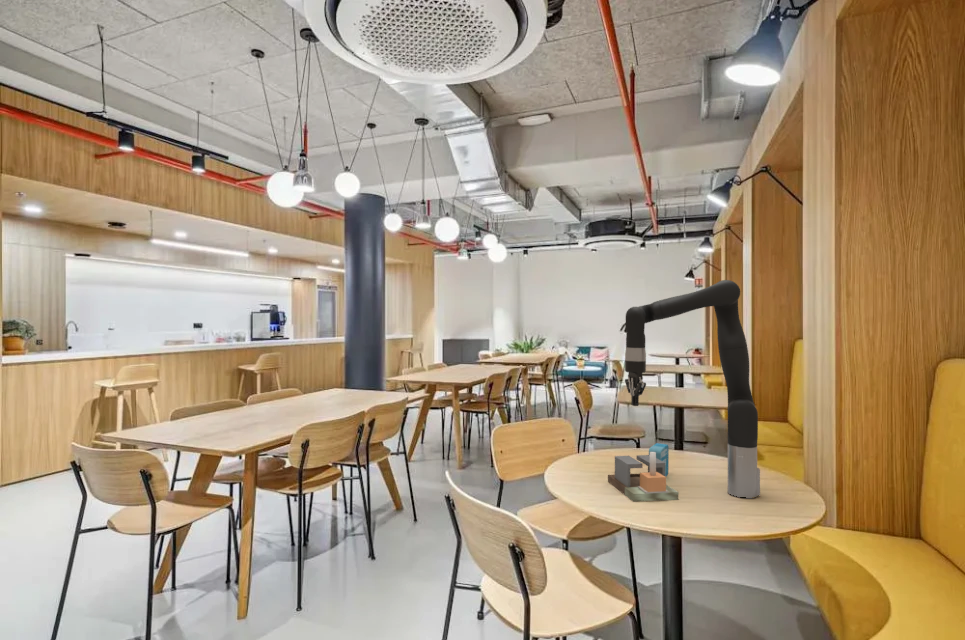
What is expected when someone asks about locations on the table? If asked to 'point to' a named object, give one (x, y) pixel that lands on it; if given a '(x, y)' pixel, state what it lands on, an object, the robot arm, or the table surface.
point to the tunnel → (628, 462)
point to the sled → (652, 479)
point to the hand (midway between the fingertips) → (634, 405)
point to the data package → (661, 454)
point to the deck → (639, 495)
